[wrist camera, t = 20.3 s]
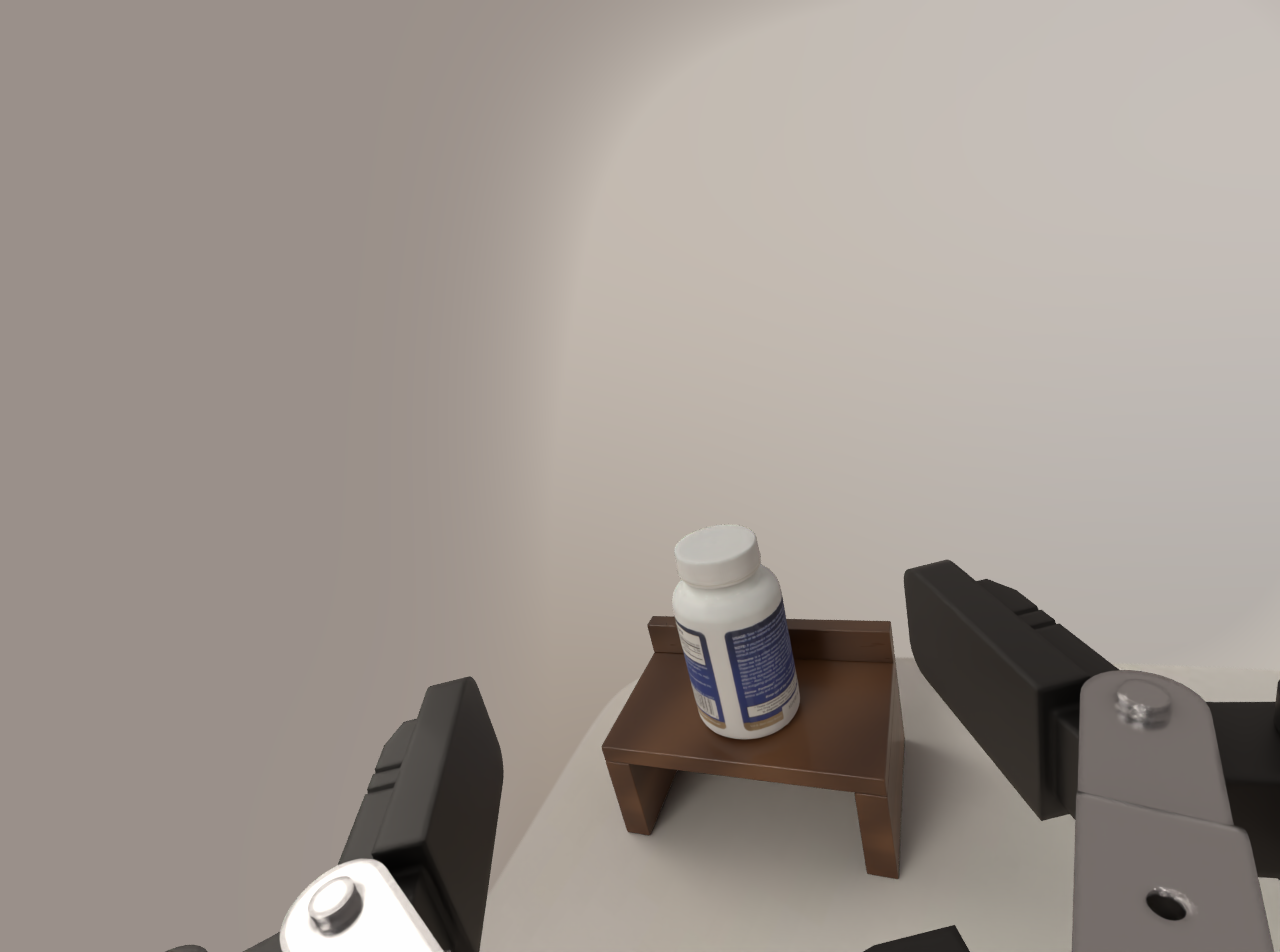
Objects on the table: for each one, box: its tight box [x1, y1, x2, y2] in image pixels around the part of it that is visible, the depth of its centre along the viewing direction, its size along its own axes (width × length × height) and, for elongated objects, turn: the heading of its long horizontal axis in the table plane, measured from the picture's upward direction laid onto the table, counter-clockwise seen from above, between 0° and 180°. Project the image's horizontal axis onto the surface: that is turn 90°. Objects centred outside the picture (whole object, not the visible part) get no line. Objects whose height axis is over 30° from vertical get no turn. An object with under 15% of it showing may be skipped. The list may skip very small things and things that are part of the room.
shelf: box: [602, 616, 905, 879], centre depth 36 cm, size 14×9×8 cm, turn 68°
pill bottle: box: [672, 524, 800, 739], centre depth 33 cm, size 5×5×10 cm
